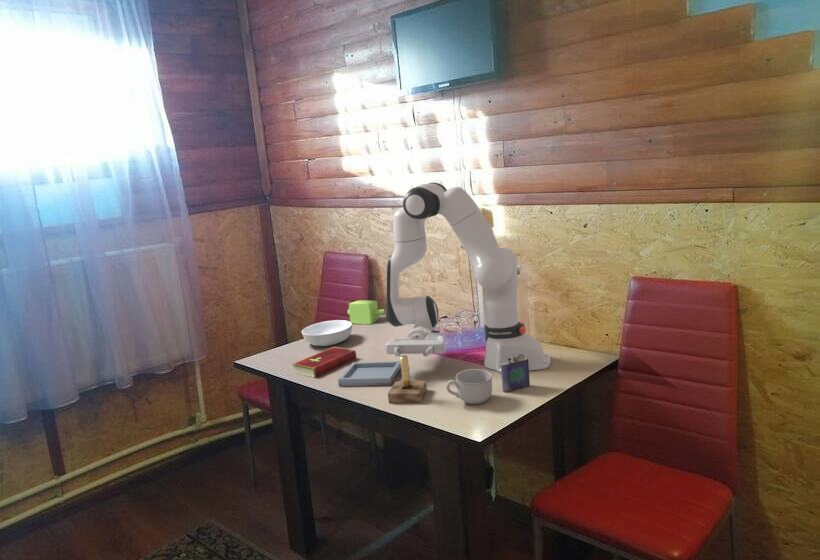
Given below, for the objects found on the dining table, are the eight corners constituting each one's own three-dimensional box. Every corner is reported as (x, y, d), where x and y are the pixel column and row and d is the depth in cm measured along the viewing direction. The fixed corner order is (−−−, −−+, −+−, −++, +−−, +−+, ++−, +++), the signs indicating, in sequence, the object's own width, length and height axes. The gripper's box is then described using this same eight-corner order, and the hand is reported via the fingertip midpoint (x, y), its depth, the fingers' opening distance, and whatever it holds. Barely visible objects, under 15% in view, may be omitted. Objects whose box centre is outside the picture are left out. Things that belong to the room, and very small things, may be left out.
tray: (401, 367, 218) (401, 361, 217) (390, 385, 203) (389, 378, 202) (353, 369, 222) (352, 362, 222) (339, 386, 207) (338, 379, 206)
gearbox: (389, 319, 285) (387, 299, 283) (379, 325, 276) (378, 304, 274) (355, 318, 292) (353, 298, 291) (344, 323, 283) (343, 303, 282)
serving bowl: (333, 332, 272) (331, 317, 271) (364, 339, 257) (362, 323, 256) (294, 346, 258) (291, 330, 256) (324, 354, 243) (321, 337, 242)
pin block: (427, 389, 196) (426, 380, 195) (420, 402, 186) (419, 393, 186) (396, 390, 198) (395, 381, 198) (388, 402, 189) (387, 393, 188)
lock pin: (412, 394, 193) (408, 355, 190) (411, 397, 191) (406, 357, 188) (405, 394, 194) (400, 355, 191) (403, 397, 191) (399, 358, 189)
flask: (505, 393, 187) (502, 359, 184) (500, 390, 189) (497, 357, 187) (531, 386, 189) (529, 353, 187) (526, 383, 192) (524, 350, 190)
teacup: (490, 391, 189) (488, 366, 188) (497, 405, 179) (494, 379, 177) (445, 396, 189) (442, 372, 187) (449, 411, 178) (446, 385, 177)
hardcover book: (357, 360, 233) (355, 349, 232) (315, 379, 217) (313, 368, 217) (335, 355, 241) (333, 345, 240) (293, 374, 225) (291, 363, 224)
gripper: (389, 332, 216) (379, 345, 203) (447, 331, 211) (440, 344, 198) (391, 349, 217) (381, 363, 204) (448, 348, 212) (442, 363, 199)
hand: (411, 354), depth 201 cm, fingers open, 8 cm apart
